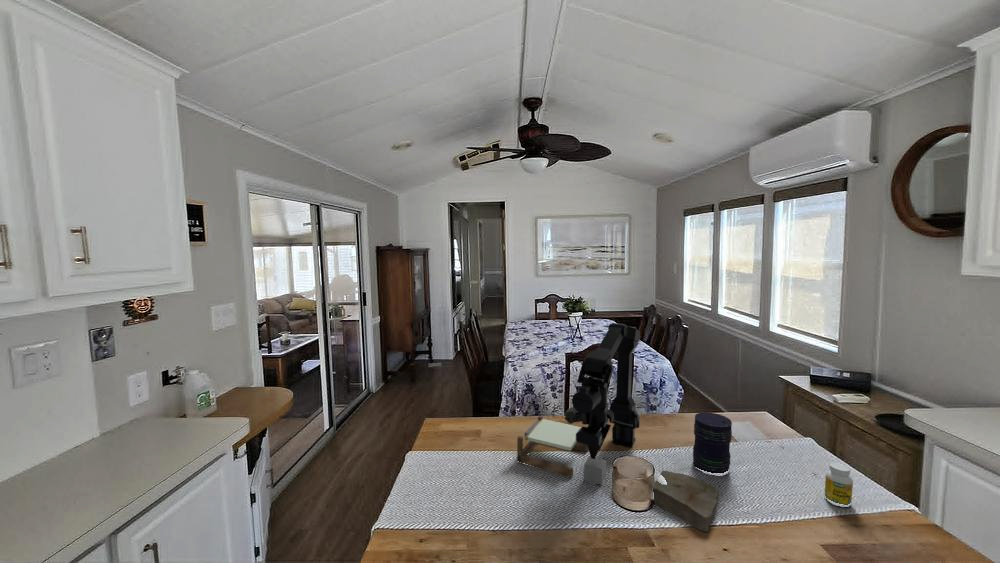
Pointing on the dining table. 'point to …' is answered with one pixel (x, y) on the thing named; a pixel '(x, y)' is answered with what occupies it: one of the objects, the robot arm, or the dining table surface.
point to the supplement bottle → (838, 484)
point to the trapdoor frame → (543, 463)
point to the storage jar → (712, 442)
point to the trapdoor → (553, 434)
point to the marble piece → (687, 499)
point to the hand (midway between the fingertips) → (595, 454)
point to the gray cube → (595, 470)
